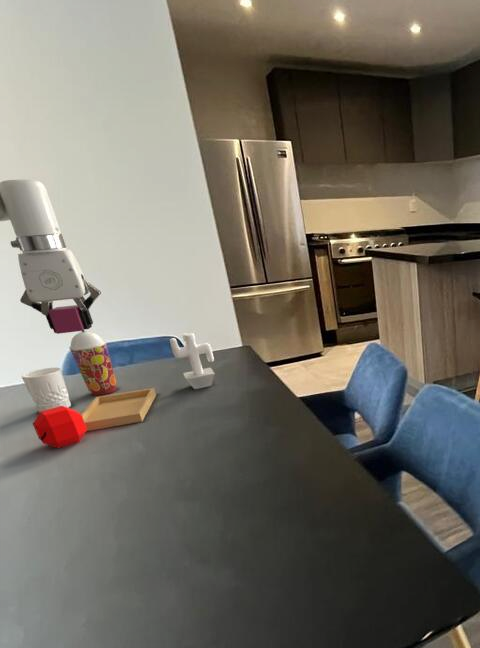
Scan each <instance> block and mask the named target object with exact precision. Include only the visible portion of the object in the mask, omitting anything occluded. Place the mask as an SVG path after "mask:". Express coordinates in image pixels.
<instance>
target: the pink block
mask: <svg viewBox="0 0 480 648" xmlns="http://www.w3.org/2000/svg"><path fill="white" fill-rule="evenodd" d="M48 312H49V315H50V317H51V320H52V323H53V325H54V328H55V331H56V333H55V334H57V335H58V334H68V333H75V332H82V331H83V330H84V331H86V329H84V326H83V324H82V321H81V318H80V315H79V312H80V308H79V307H78V306H77V304H75V305H66V306H56V307H53V309H52V310H50V311H48Z"/></svg>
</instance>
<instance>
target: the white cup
mask: <svg viewBox="0 0 480 648" xmlns="http://www.w3.org/2000/svg"><path fill="white" fill-rule="evenodd" d="M21 379H22V380H23V382H24V386H25V387H26V389H27V391H28V393H29V395H30V397H31V399H32V401H33V402H34V404H35V406H36V408H37V411H38V412H39V413H40V412H41V411H44V410H48V409H52V408H56V407H59V406H65V407H67V408H70V407H71V406H72V402H71V400H70V395H69V392H68V388H67V385H66V382H65V379H64V375H63V373H62V370H61V368H60V367H47V368H41V369H36V370H31V371H28V372H26V373H23V374H22V375H21Z"/></svg>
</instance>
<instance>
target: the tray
mask: <svg viewBox="0 0 480 648" xmlns="http://www.w3.org/2000/svg"><path fill="white" fill-rule="evenodd" d="M156 396H157V393H156V390H155V387H152V388H145V389H140V390H139V389H137V390H131V391H126V392H119V393H114V394H105V395H99V396H95V398H94V399H93V400H92V401H91V402H90V404H89V405H88V406H87V407H86V408H85V409H84V411H82V412H81V413H80V414H81V415H82V417H83V420H84V422H85V425H86V428H87V431H86V432H89V431H90V432H91V431H95V430H102V429H106V428H113V427H117V426H118V427H119V426H124V425H131V424H134V423H141V422H143V421H144V419H145V417H146V415H147V413H148V412H149V410H150V408H151V406H152V403H153V402H154V401H155V398H156Z"/></svg>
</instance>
